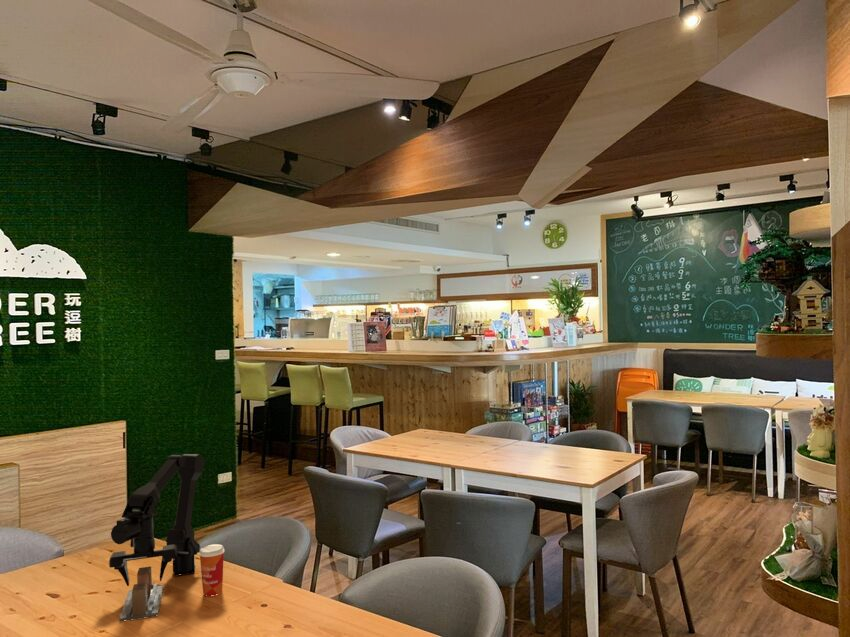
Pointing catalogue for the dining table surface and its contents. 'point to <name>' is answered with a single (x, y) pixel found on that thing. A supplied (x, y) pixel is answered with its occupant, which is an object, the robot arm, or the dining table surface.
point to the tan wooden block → (145, 578)
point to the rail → (151, 604)
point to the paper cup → (212, 568)
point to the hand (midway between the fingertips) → (144, 583)
